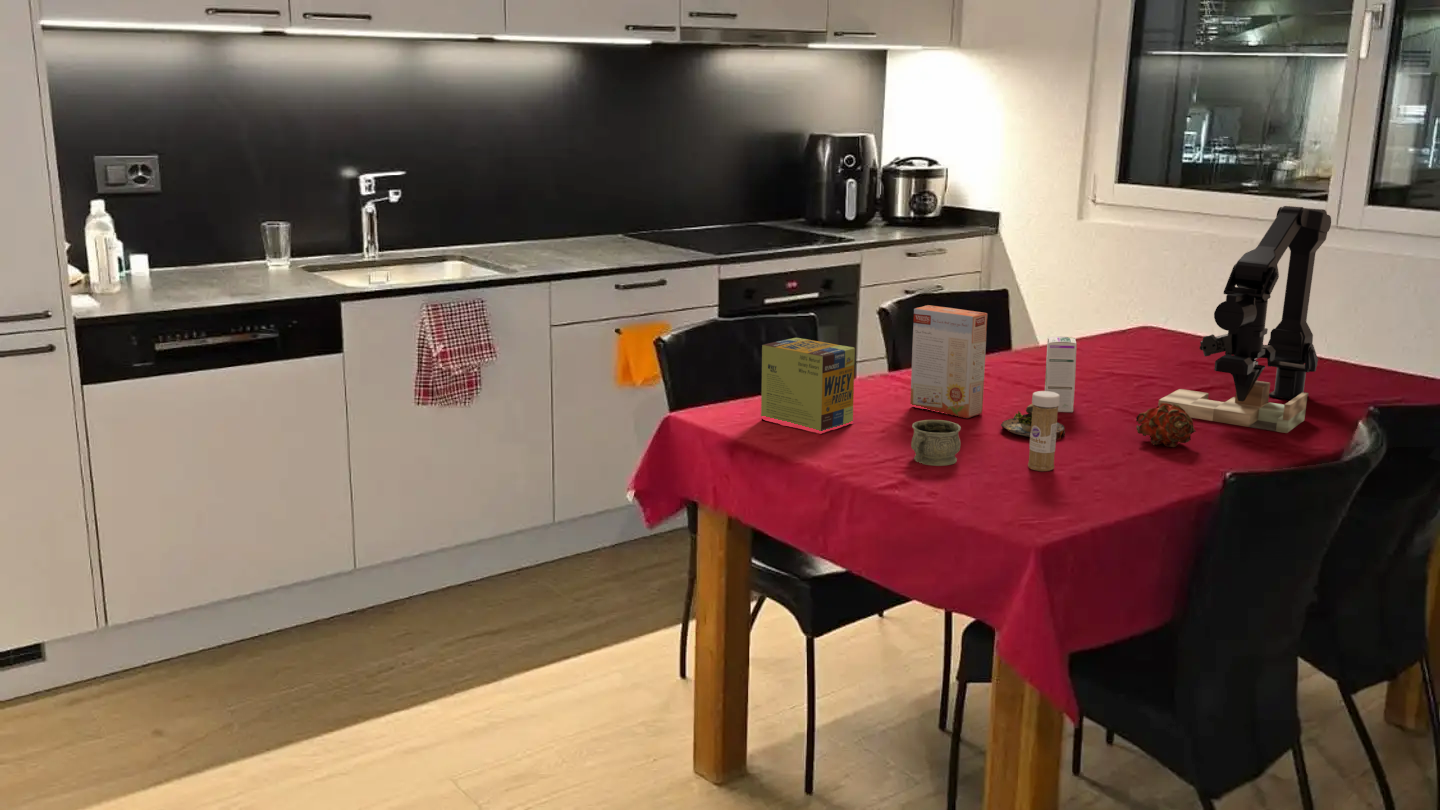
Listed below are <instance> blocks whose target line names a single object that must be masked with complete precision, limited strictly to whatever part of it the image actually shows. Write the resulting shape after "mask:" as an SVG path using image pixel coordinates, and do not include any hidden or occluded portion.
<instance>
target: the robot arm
mask: <svg viewBox="0 0 1440 810" xmlns="http://www.w3.org/2000/svg"><path fill="white" fill-rule="evenodd" d="M1331 225H1332V217H1331V215H1329V214H1328V213H1327V211H1326V209H1324V208H1323V209H1321V208H1308V207H1303V206H1292V205H1283V206H1280V207H1278V209H1277V212H1276V217H1275V219H1274V220H1273V222H1272V223H1271V225H1270V226H1269V228H1268V229H1267V231H1266V233H1265V234H1264V235H1263V237H1262V239H1261V240H1260V242H1259V243H1258V244H1257V245H1256V247H1255V248H1254V249H1252V250H1250V251H1247V252H1245V253H1244V254H1243V255H1242V256H1241V257H1240V258H1239V259H1238V260H1237V262H1236V263H1235V264H1234V265H1233V267H1232V269H1231V272H1230V274H1229V277H1228V280H1227V283H1226V285H1225V287H1224V289H1223V295H1226V296H1225V301H1223V302H1221V303H1219V304H1218V305H1217V306H1216V308H1215V310H1214V312H1213V313H1214V314H1213V318H1214V322H1215V323H1216V325H1217V326H1218V327H1219V328H1220V329H1222V330H1224V331H1228V332H1227V333H1225V334H1221V335H1220V334H1219V335H1216V336H1215V334H1209V335H1205V336H1203V337H1202V340H1201V341H1199V342H1200V343H1199V344H1200V346H1199V351H1202V352H1203V356H1204V357H1210V356H1211V355H1215V354H1219V353H1225V354H1224V355H1222V356H1220V357H1219V358H1217V359H1216V360H1214V368H1213V369H1214V372H1219V373H1224V374H1225V373H1227V374H1231V376H1232V378H1233V379H1232V380H1233V382H1234V386H1235V395H1236V394H1237V399H1238V401H1242V402H1243V401H1245V399H1246V397H1247V396H1248V394H1249V392H1250V391H1251V389H1252V387H1253V385H1254V384H1255V382H1256V381H1258V379H1259V378H1260V376H1261V374H1262V372H1263V371H1264V370H1265V368H1266V365H1264V364H1259V361H1258V359H1266V360H1267V367H1271V368H1272V367H1273V368H1276V373H1275V380H1274V381H1275V383H1274V389H1273V391H1271V392H1269V397H1272V398H1278V399H1279V398H1280V399H1287V400H1292V399H1293V398H1295V397H1296V396H1298V395H1299V394H1301V393H1306V391H1305V384H1306V383H1305V382H1306V377H1307V376H1306V374H1307V373H1315V372H1316V371H1317V367H1318V364H1319V363H1318V362H1319V358H1318V355H1317V352H1316V349H1315V345H1314V344H1313V339H1314V334H1313V332H1312V330H1311V328H1310V326H1309V324H1308V322H1307V320H1308V312H1309V311H1308V310H1309V305H1310V304H1309V303H1310V296H1311V291H1312V290H1311V288H1312V281H1313V274H1314V267H1315V260H1316V259H1315V258H1316V252H1317V251H1318V250H1319V249H1320V247H1321V246H1322V245H1323V244H1324V243H1325V242H1326V240H1327V236H1328V232H1330V229H1331ZM1287 249H1289V251H1290V253H1289V259H1288V260H1289V261H1288V268H1287V275H1286V276H1287V278H1286V284H1285V290H1284V291H1285V292H1284V299H1283V300H1284V302H1283V307H1282V308H1283V309H1282V316H1281V320H1280V322H1279V323H1278V324H1277V326H1276V327H1275V328H1272V330H1271V331H1270V335H1269V336H1270V337H1269V340H1268V342H1267V344H1264V340H1265V335H1267V334H1268V330H1269V329H1268V328H1266V321H1267V310H1268V302H1269V300H1270V298H1271V294H1272V292H1273V290H1274V288H1275V287H1276V285H1277V282H1278V279H1279V277H1280V273H1279V267H1278V264H1279V261H1280V260H1281V259H1282V258H1283V256H1284V254H1285V252H1286V250H1287ZM1268 299H1269V300H1268ZM1304 391H1305V392H1304ZM1307 397H1309V393H1308V394H1307Z"/></svg>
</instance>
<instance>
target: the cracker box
mask: <svg viewBox="0 0 1440 810" xmlns="http://www.w3.org/2000/svg"><path fill="white" fill-rule="evenodd" d="M912 326H913V329H912V350H911V353H912V354H911V374H910V375H911V376H910V377H911V379H910V403H909V404H912V405H916V406H921V407H924V408H927V409H930V410H935V411H939V412H944V413H947V414H946V415H948V414H951V415H950V416H953V415H955V416H954V417H957V416H958V417H957V418H962V417H963V419H970V418H972V417H976V416H978V415H982V414H983V410H984V409H983V408H984V406H983V404H984V389H985V368H986V349H987V348H986V347H987V328H988V327H987V326H988V313H987V312H981V311H974V310H967V309H960V308H953V307H945V306H938V305H929V304H927V305H924V306H920V307H915V308H913V325H912Z"/></svg>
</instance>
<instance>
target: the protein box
mask: <svg viewBox="0 0 1440 810" xmlns="http://www.w3.org/2000/svg"><path fill="white" fill-rule="evenodd" d="M761 346H762V347H761V393H760V394H761V400H760V401H761V404H760V405H761V406H760V409H761V410H760V411H761V412H760V417H761V416H766V417H770V418H774V419H778V420H782V421H787V422H791V423H794V424H798V425H802V426H805V427H809V428H813V429H816V430H819V431H823V430H826V429H830V428H833V427H837V426H840V425H843V424H846V423H849V422H851V421H853V422H854V389H855V356H856V355H855V352H856V348H855V347H853V346H847V345H840V344H835V343H829V342H824V341H817V340H813V339H812V340H811V339H807V338H800V337H793V338H788V339H782V340H778V341H773V342H770V343H765V344H762V345H761Z"/></svg>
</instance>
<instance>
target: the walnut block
mask: <svg viewBox="0 0 1440 810" xmlns="http://www.w3.org/2000/svg"><path fill="white" fill-rule="evenodd" d="M1270 388H1271V382H1268V381H1263V380H1261V381H1260V380H1257V381H1256V382H1255V384H1254V385H1253V387H1252V389H1251V391H1250V392H1249V394H1248V396H1247V397H1246V399H1245V401H1243V402H1242V401H1238V399H1237V394H1236V393H1235V396H1234V397H1235V403H1239V404H1246V405H1252V406H1259V407H1261V406H1263V405H1264V404H1266V403H1267V402H1269V401H1270V400H1269V398H1270V396H1269V393H1270Z"/></svg>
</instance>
